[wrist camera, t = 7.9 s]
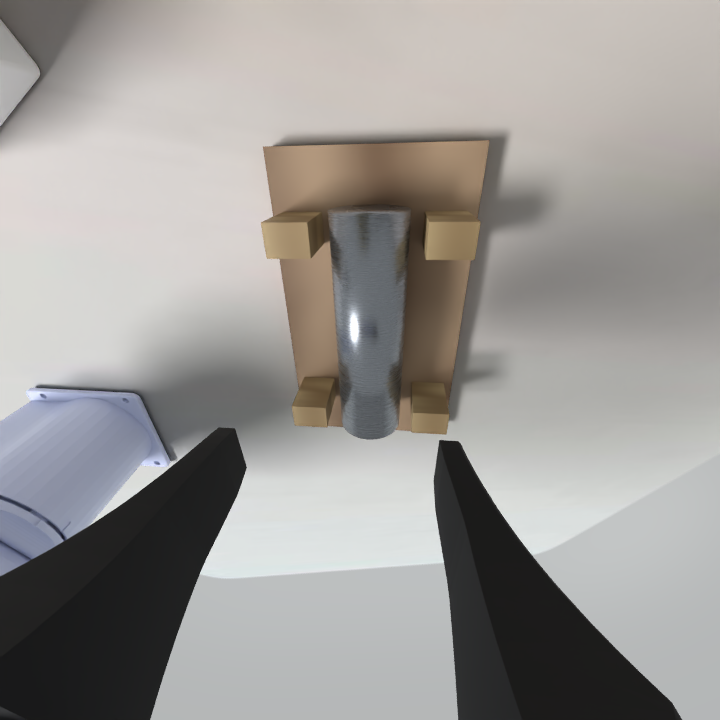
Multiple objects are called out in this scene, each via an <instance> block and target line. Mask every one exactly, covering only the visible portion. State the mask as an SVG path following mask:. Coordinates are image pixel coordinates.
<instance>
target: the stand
mask: <svg viewBox="0 0 720 720" xmlns="http://www.w3.org/2000/svg"><path fill="white" fill-rule="evenodd" d="M489 141H490V140H486V141H450V142H414V143H379V144H343V145H307V146H271V147H263V150H264V157H265V164H266V170H267V177H268V184H269V191H270V197H271V204H272V211H273V217H271V218H269V219H267V220H265V221H263V222H261V227H262V233H263V239H264V245H265V251H266V257H267V259H280V265H281V272H282V279H283V285H284V292H285V299H286V306H287V312H288V319H289V326H290V333H291V339H292V346H293V353H294V360H295V366H296V373H297V380H298V387H299V391H298V393H297V395H296V397H295V400H294V402H293V404H292V411H293V417H294V423H295V426H312V427H328V426H337V427H344V426H343V424H342V416H341V401H340V386H339V371H338V356H337V341H336V326H335V311H334V296H333V281H332V266H331V251H330V236H329V221H328V210H329V209H332V208H336V207H342V206H350V205H367V204H383V205H398V206H405V207H409V208H411V222H410V239H409V257H408V275H407V293H406V310H405V328H404V346H403V363H402V381H401V399H400V417H399V424H398V427H397V428H396V430H405V431H411V432H413V433H430V434H446V433H447V427H448V421H449V409H448V404H449V397H450V391H451V384H452V378H453V372H454V365H455V359H456V352H457V346H458V340H459V333H460V327H461V320H462V314H463V308H464V301H465V295H466V288H467V282H468V276H469V269H470V263H471V260H475V254H476V248H477V242H478V236H479V229H480V223H481V222H480V221H479V220H478V219H477V218H478V212H479V205H480V199H481V192H482V186H483V179H484V173H485V167H486V160H487V154H488V147H489Z"/></svg>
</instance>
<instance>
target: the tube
mask: <svg viewBox="0 0 720 720" xmlns="http://www.w3.org/2000/svg"><path fill="white" fill-rule="evenodd" d="M328 221H329V236H330V251H331V266H332V281H333V296H334V311H335V326H336V341H337V356H338V371H339V386H340V401H341V416H342V424H343V426H344V428H345V429H346V430H347V431H348V432H349V433H350V434H352V435H353V436H356V437H358V438H362V439H379V438H383V437H386V436H388V435H390V434H391V433H392V432H394V431H395V430H396V428H397V427H398V424H399V417H400V399H401V381H402V363H403V346H404V328H405V310H406V293H407V275H408V257H409V239H410V222H411V208H409V207H405V206H398V205H383V204H367V205H350V206H342V207H336V208H332V209H329V210H328Z"/></svg>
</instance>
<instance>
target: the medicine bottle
mask: <svg viewBox="0 0 720 720" xmlns="http://www.w3.org/2000/svg"><path fill="white" fill-rule="evenodd" d="M39 76H40V70H39V68H38V66H37V64H36V63H35V62H34V61H33V59H32V58H31V57H30V56H29V54H28V53H27V52H26V51H25V49H24V48H23V47H22V46H21V44H20V43H19V42H18V41H17V39H16V38H15V37H14V36H13V34H12V33H11V32H10V30H9V29H8V28H7V27H6V25H5V24H4V23H3V22H2V20H1V19H0V126H1V125H2V124H3V122H4V121H5V120H6V119H7V117H8V116H9V115H10V114H11V112H12V111H13V110H14V108H15V107H16V106H17V105H18V103H19V102H20V101H21V100H22V98H23V97H24V96H25V95H26V93H27V92H28V91H29V89H30V88H31V87H32V86H33V84H34V83H35V82H36V81H37V79H38V78H39Z"/></svg>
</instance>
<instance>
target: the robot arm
mask: <svg viewBox="0 0 720 720" xmlns="http://www.w3.org/2000/svg"><path fill="white" fill-rule="evenodd" d="M26 394H27V396H28V397H29V399H30V400H31V401H30V402H29V403H27V404H26V405H24V406H23V407H21V408H20V409H18V410H17V411H15V412H14V413H12V414H11V415H9V416H8V417H6V418H5V419H3V420H2V421H0V720H150V718H151V715H152V711H153V708H154V705H155V701H156V698H157V695H158V692H159V688H160V685H161V682H162V678H163V675H164V672H165V669H166V666H167V663H168V660H169V657H170V654H171V651H172V648H173V645H174V642H175V639H176V636H177V633H178V630H179V627H180V625H181V622H182V619H183V616H184V613H185V611H186V608H187V605H188V603H189V600H190V597H191V595H192V592H193V589H194V587H195V584H196V582H197V579H198V577H199V574H200V572H201V569H202V567H203V565H204V563H205V560H206V558H207V556H208V554H209V552H210V550H211V548H212V546H213V544H214V542H215V540H216V538H217V536H218V534H219V532H220V530H221V528H222V526H223V524H224V522H225V520H226V518H227V515H228V513H229V511H230V509H231V507H232V505H233V503H234V501H235V499H236V497H237V494H238V492H239V489H240V486H241V483H242V480H243V477H244V474H245V471H246V468H247V467H246V463H245V460H244V457H243V454H242V450H241V447H240V444H239V440H238V437H237V434H236V430H235V429H234V428H218V429H217V430H215V431H214V432H213V433H211V434H210V435H209V436H208V437H207V438H205V439H204V440H203V441H202V442H201V443H199V444H198V445H197V446H196V447H195V448H194V449H192V450H191V451H190V452H189V453H188V454H186V455H185V456H184V457H183V458H182V459H180V460H179V461H178V462H177V463H175V464H174V465H173V466H172V467H171V468H169V469H168V470H167V471H166V472H164V473H163V474H162V475H160V476H159V477H158V478H157V479H155V480H154V481H153V482H151V483H150V484H149V485H147V486H146V487H145V488H143V489H142V490H141V491H140V492H138V493H137V494H136V495H134V496H133V497H131V498H130V499H129V500H127V501H126V502H124V503H123V504H122V505H120V506H119V507H117V508H116V509H114V510H113V511H111V512H110V513H108V514H107V515H105V516H104V517H102V518H101V519H99V520H98V521H96V522H95V523H93V524H92V525H90V524H91V523H92V522H93V520H94V519H95V518H96V517H97V516H98V514H99V513H100V512H101V511H102V510H103V509H104V507H105V506H106V505H107V504H108V503H109V501H110V500H111V499H112V498H113V497H114V495H115V494H116V493H117V492H118V491H119V490H120V488H121V487H122V486H123V485H124V484H125V482H126V481H127V480H128V479H129V478H130V476H131V475H132V474H133V473H134V472H135V471H136V469H137V468H138V467H139V466H140V465H145V466H158V467H167V466H168V465H169V464H170V459H169V457H168V455H167V453H166V451H165V449H164V447H163V445H162V442H161V440H160V438H159V436H158V434H157V432H156V430H155V428H154V426H153V423H152V421H151V419H150V417H149V415H148V413H147V411H146V409H145V407H144V404H143V402H142V400H141V398H140V397H139V396H138V395H137V394H135V393H123V392H104V391H85V390H65V389H46V388H30V389H29V390H27V391H26ZM434 494H435V509H436V516H437V522H438V529H439V535H440V541H441V547H442V553H443V559H444V565H445V570H446V576H447V583H448V591H449V598H450V610H451V622H452V635H453V648H454V661H455V675H456V690H457V706H458V720H682V719H681V717H680V715H679V714H678V712H677V710H676V709H675V707H674V705H673V704H672V702H671V701H670V700H669V699H668V698H667V697H665V696H664V695H663V694H662V693H661V692H660V691H659V690H658V689H657V688H656V687H655V686H654V685H653V684H652V683H651V682H650V681H649V680H648V679H646V678H645V677H644V676H643V675H642V674H641V673H640V672H639V671H638V670H637V669H636V668H635V667H634V666H633V665H632V664H631V663H630V662H629V661H628V660H627V659H626V658H625V657H624V656H623V655H622V654H621V653H620V652H619V651H618V650H617V649H616V648H615V647H614V646H613V645H612V644H611V643H610V642H609V641H608V640H607V639H606V638H605V637H604V636H603V635H602V634H601V633H600V632H599V631H598V630H597V629H596V628H595V627H594V626H593V625H592V624H591V623H590V621H589V620H588V619H587V618H586V617H585V616H584V615H583V614H582V613H581V612H580V610H579V609H578V608H577V607H576V606H575V605H574V604H573V603H572V602H571V600H570V599H569V598H568V597H567V596H566V595H565V594H564V593H563V592H562V591H561V590H560V588H559V587H558V586H557V585H556V584H555V583H554V582H553V580H552V579H551V578H550V577H549V576H548V574H547V573H546V572H545V571H544V570H543V568H542V567H541V566H540V565H539V564H538V563H537V561H536V560H535V559H534V558H533V556H532V555H531V554H530V552H529V551H528V550H527V549H526V547H525V546H524V545H523V543H522V542H521V541H520V539H519V538H518V537H517V535H516V534H515V533H514V531H513V530H512V528H511V527H510V526H509V524H508V523H507V521H506V520H505V518H504V517H503V516H502V514H501V513H500V511H499V510H498V508H497V507H496V505H495V504H494V502H493V500H492V499H491V497H490V496H489V494H488V492H487V491H486V489H485V488H484V486H483V484H482V483H481V481H480V479H479V478H478V476H477V474H476V472H475V471H474V469H473V467H472V465H471V463H470V461H469V460H468V458H467V456H466V454H465V452H464V450H463V448H462V445H461V444H460V443H459V442H458V441H444V440H439V447H438V454H437V461H436V468H435V475H434ZM89 525H90V526H89Z"/></svg>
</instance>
